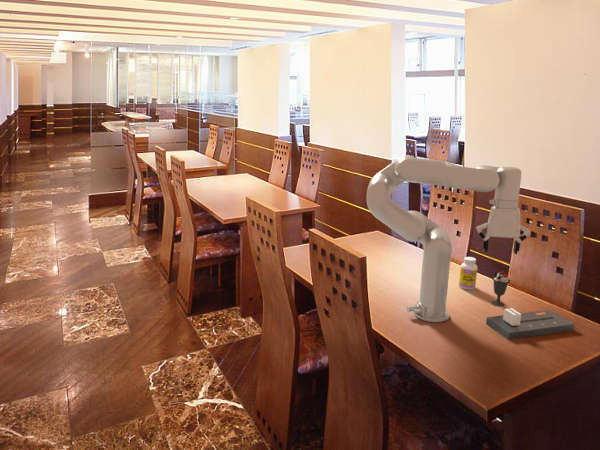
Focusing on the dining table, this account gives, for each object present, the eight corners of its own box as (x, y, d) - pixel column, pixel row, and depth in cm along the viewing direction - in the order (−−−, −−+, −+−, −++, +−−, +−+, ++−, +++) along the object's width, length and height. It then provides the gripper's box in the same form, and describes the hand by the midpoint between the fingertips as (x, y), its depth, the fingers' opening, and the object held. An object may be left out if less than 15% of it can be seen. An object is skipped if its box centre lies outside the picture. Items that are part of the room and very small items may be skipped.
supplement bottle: (459, 289, 207) (462, 260, 204) (457, 283, 213) (460, 255, 210) (476, 290, 206) (479, 261, 203) (473, 284, 212) (476, 256, 209)
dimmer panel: (508, 339, 165) (509, 332, 164) (486, 323, 176) (486, 317, 176) (574, 330, 172) (575, 323, 172) (548, 315, 183) (549, 309, 183)
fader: (512, 325, 169) (513, 314, 168) (502, 319, 173) (504, 308, 172) (519, 324, 169) (521, 313, 168) (510, 318, 174) (511, 307, 173)
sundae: (508, 308, 190) (513, 271, 186) (490, 306, 191) (494, 269, 187) (505, 301, 196) (510, 265, 192) (487, 299, 197) (492, 264, 193)
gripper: (480, 204, 166) (475, 253, 170) (535, 207, 162) (529, 257, 166) (477, 200, 173) (473, 246, 177) (530, 202, 169) (524, 250, 173)
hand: (500, 251), depth 172 cm, fingers open, 9 cm apart
